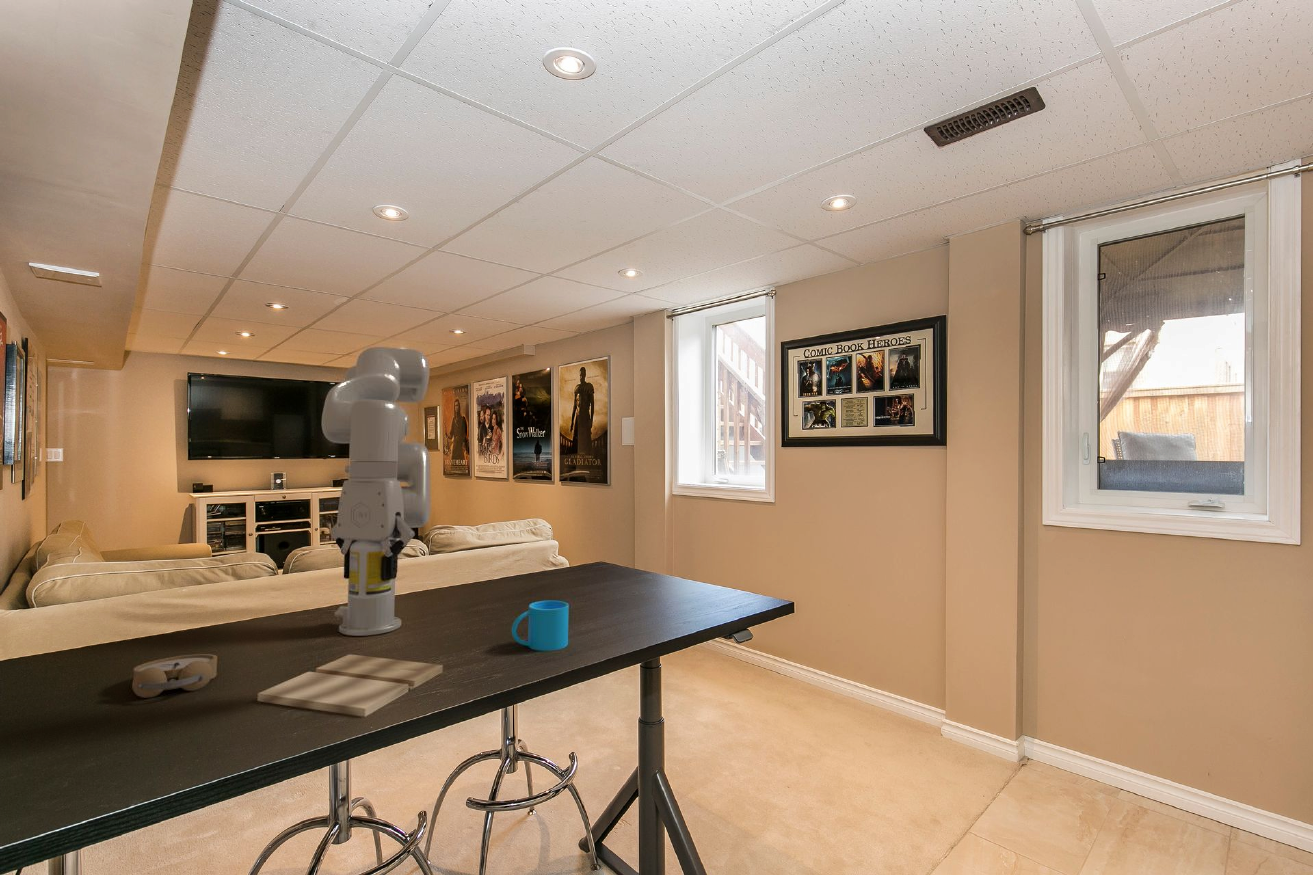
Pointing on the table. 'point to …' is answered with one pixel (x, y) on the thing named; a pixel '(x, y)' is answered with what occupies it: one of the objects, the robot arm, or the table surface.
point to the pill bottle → (367, 570)
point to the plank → (334, 693)
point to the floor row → (382, 669)
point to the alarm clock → (174, 674)
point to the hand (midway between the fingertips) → (370, 577)
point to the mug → (545, 626)
